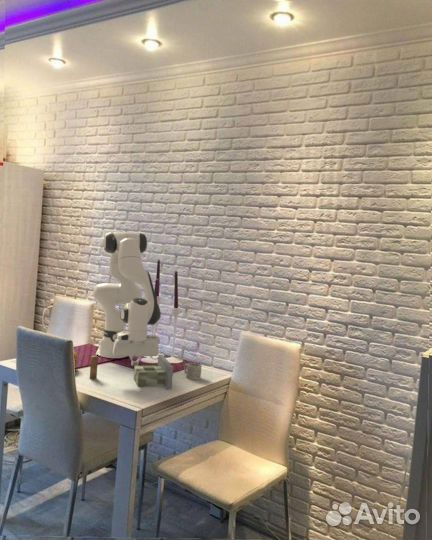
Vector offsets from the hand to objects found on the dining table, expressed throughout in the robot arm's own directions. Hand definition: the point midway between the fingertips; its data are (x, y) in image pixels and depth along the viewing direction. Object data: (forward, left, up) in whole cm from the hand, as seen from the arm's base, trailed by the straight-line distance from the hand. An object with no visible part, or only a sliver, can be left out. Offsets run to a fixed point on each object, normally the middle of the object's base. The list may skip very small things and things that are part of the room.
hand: (134, 365), depth 217 cm
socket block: (+1, +7, -8) cm, 10 cm away
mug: (-6, +29, -8) cm, 30 cm away
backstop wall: (+1, +14, -8) cm, 16 cm away
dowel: (-6, -17, -8) cm, 20 cm away
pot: (-20, -29, -8) cm, 36 cm away
